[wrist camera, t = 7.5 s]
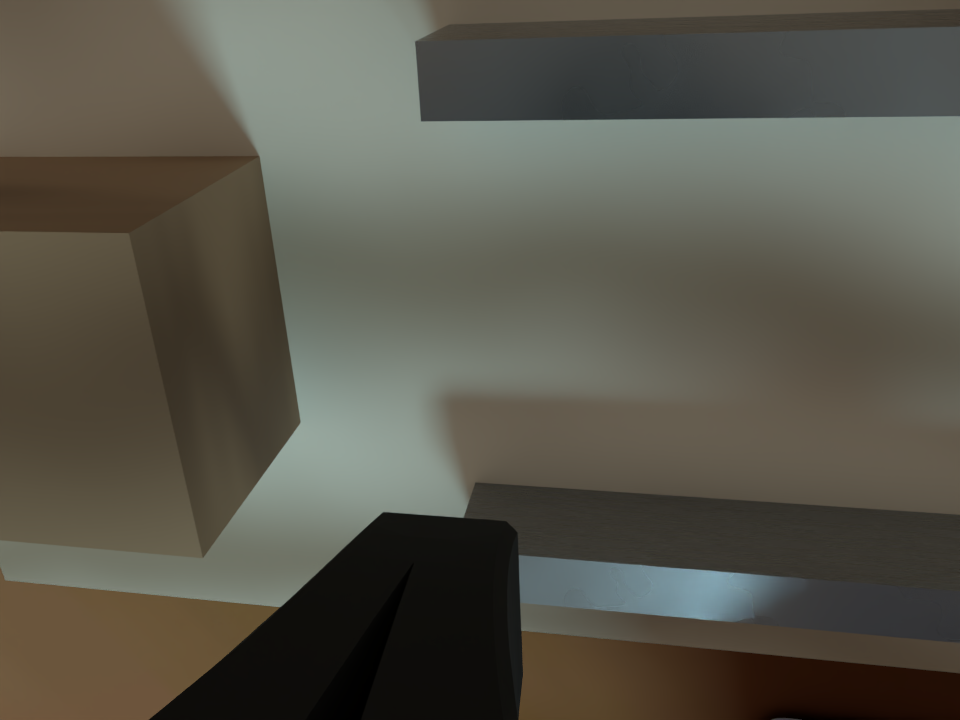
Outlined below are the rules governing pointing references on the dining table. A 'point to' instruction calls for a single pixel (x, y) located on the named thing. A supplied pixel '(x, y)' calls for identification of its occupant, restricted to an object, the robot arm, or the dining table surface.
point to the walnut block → (137, 350)
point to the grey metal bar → (695, 520)
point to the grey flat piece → (531, 288)
